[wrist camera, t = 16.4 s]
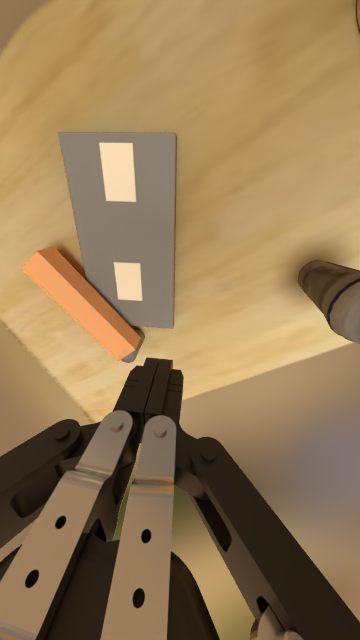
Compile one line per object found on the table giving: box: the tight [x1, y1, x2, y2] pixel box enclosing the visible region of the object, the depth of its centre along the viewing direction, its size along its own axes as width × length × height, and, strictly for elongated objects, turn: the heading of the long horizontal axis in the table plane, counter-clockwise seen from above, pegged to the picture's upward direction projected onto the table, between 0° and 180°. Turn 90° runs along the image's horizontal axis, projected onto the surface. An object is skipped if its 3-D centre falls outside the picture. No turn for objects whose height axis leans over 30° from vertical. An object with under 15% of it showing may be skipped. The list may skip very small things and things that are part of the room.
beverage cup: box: [298, 261, 360, 344], centre depth 23 cm, size 7×7×20 cm
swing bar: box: [21, 247, 141, 363], centre depth 33 cm, size 20×4×4 cm, turn 38°
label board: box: [58, 132, 177, 345], centre depth 32 cm, size 30×14×2 cm, turn 179°
